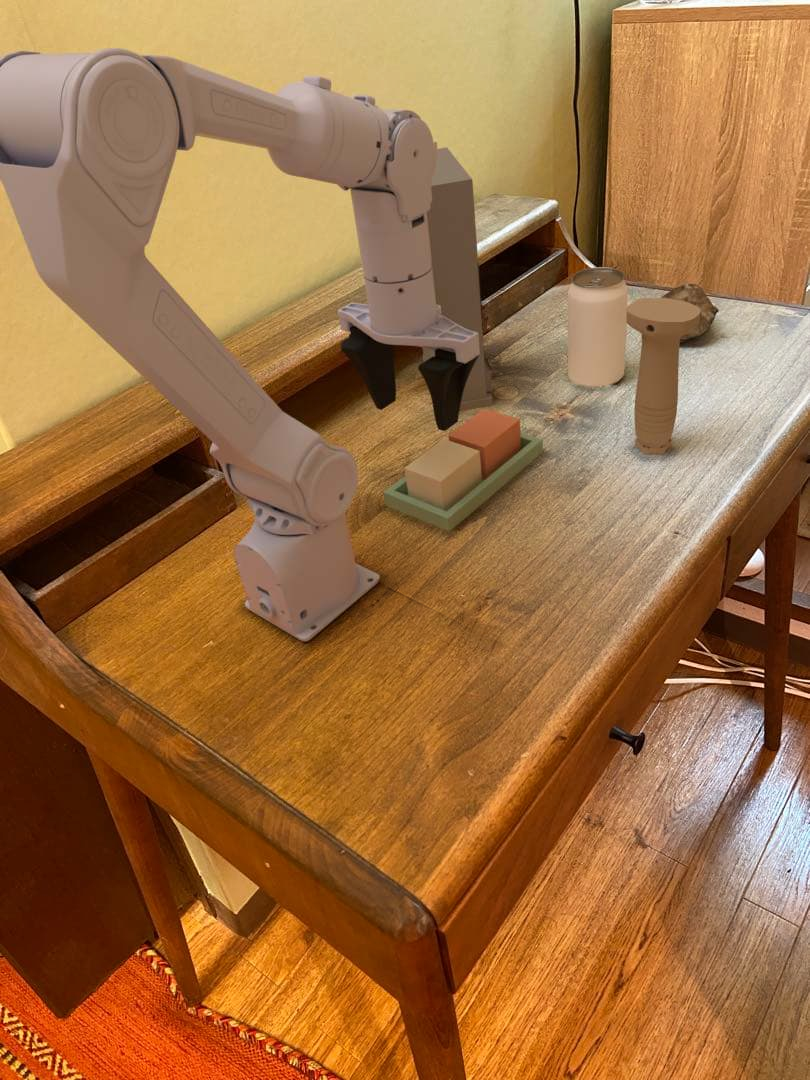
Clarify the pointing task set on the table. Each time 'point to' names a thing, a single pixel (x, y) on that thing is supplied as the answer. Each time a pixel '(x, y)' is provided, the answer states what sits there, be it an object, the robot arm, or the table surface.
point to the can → (597, 326)
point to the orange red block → (490, 439)
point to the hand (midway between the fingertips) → (416, 414)
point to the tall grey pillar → (458, 266)
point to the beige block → (444, 474)
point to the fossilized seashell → (699, 299)
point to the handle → (658, 367)
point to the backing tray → (451, 518)
